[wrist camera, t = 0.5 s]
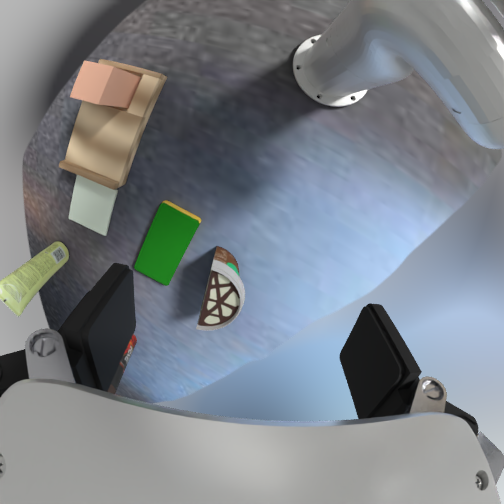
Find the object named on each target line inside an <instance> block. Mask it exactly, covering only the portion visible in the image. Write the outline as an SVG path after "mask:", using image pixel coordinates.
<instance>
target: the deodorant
mask: <svg viewBox="0 0 504 504" xmlns="http://www.w3.org/2000/svg"><path fill="white" fill-rule="evenodd" d="M136 341H137V340H136V337H135V335H134V334H133V335H132V338H131V340H130V342H129V344H128V346H127V348H126V350H125V353H124V355H123V357H122V359H121V362H120V364H119V366H118V368H117V371H116V373H115V375H114V378H113V380H112V382H111V385H110V387H109V389H108V391H107V392H108V393H112V394H115V393H116V390H117V388H118V385H119V383H120V380H121V378H122V375H123V373H124V370H125V368H126V366H127V363H128V361H129V358H130V356H131V354H132V351H133V349H134V347H135V345H136Z"/></svg>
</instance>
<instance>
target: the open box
mask: <svg viewBox="0 0 504 504" xmlns="http://www.w3.org/2000/svg"><path fill="white" fill-rule="evenodd" d="M98 63H99V64H104V65H109V66H113V67H116V68H119V69H121V70H124V71H126V72H129V73H131V74H134V75H136V76H138V77H141V78H142V79H141V81H140V83H139V85H138V88H137V90H136V92H135V94H134V97H133V99H132V102H131V104H130V106H129V108H125V107H116V106H107V105H98V104H94V103H91V102H87V101H82V104H81V107H80V110H79V113H78V116H77V119H76V122H75V125H74V128H73V132H72V135H71V139H70V142H69V146H68V150H67V154H66V158H65V160H63V161H60V164H59V167H60V168H63V169H65V170H67V171H70V172H72V173H75V174H77V175H79V176H82V177H84V178H86V179H89V180H91V181H94V182H96V183H98V184H101V185H103V186H105V187H108V188H110V189H112V190H115V189H117V188H119V187H121V186H123V185H125V184H126V180H127V177H128V174H129V171H130V168H131V165H132V162H133V159H134V156H135V153H136V150H137V148H138V145H139V142H140V140H141V137H142V134H143V132H144V129H145V127H146V124H147V122H148V119H149V117H150V114H151V112H152V110H153V107H154V105H155V103H156V100H157V98H158V96H159V94H160V92H161V90H162V87H163V85H164V83H165V81H166V79H167V77H166V76H164V75H163V74H160V73H157V72H153V71H150V70H146V69H142V68H138V67H134V66H130V65H126V64H122V63H117V62H113V61H108V60H103V59H100V60H99V62H98Z"/></svg>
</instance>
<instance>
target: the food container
mask: <svg viewBox="0 0 504 504" xmlns="http://www.w3.org/2000/svg"><path fill="white" fill-rule="evenodd" d="M244 300H245V289H244V285H243V283H242V281H241V279H240V277H239V268H238V264H237V261H236V259H235V258H234V256H233V255H232V254H231V253H230V252H228V251H227V250H226V249H224V248H222V247H219V246H217V248H216V251H215V255H214V259H213V263H212V267H211V271H210V274H209V278H208V282H207V286H206V290H205V294H204V299H203V303H202V307H201V311H200V315H199V320H198V324H197V328H196V329H199V330H216V329H220V328H223V327H225V326H227V325H228V324H230V323H231V322H232V321H233V320H234V319H235V318H236V317H237V316H238V314H239V313H240V311H241V309H242V306H243V304H244Z"/></svg>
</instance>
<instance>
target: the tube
mask: <svg viewBox="0 0 504 504" xmlns="http://www.w3.org/2000/svg"><path fill="white" fill-rule="evenodd" d="M68 258H69V253H68V250H67V248H66V246H65V245H64V244H63V243H61V242H59V241H57V242H54V243H53V244H51V245H50V246H49V247H47V248H46V249H44V250H43V251H42V252H40V253H39V254H37V255H36V256H35V257H33V258H32V259H30V260H29V261H28V262H26V263H25V264H23V265H22V266H21V267H20V268H18V269H17V270H15V271H14V272H12V273H11V274H10V275H8V276H7V277H5V278H4V279H3V280H1V281H0V299H1V300H2V301H3V302H4V303H5V304H6V305H7V306H8V307H9V308H10V309H11V310H12V312H13V313H15V314H16V316H18V317H19V316H20V315H21V314H22V312H23V310H24V309H25V307H26V306H27V304H28V303H29V302H30V301H31V299H32V298H33V297H34V295H35V294H36V293H37V292H38V291H39V290H40V288H41V287H42V286H43V285H44V284H45V283H46V282H47V281H48V280H49V279H50V278H51V277H52V276H53V274H54V273H55V272H56V271H58V270H59V269H60V268H61V267H62V266H63V265H64V264H65V263H66V262H67V261H68Z"/></svg>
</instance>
